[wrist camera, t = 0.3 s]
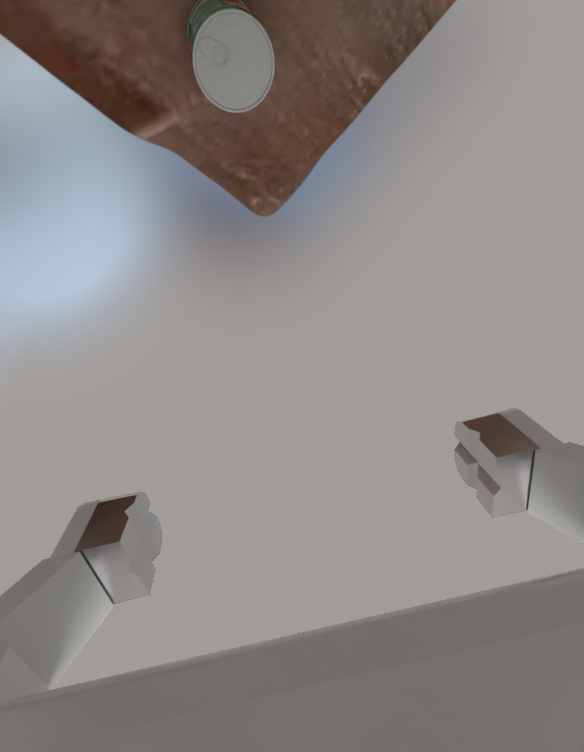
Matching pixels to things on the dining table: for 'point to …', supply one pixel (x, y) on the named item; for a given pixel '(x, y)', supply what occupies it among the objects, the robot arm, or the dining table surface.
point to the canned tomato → (230, 54)
